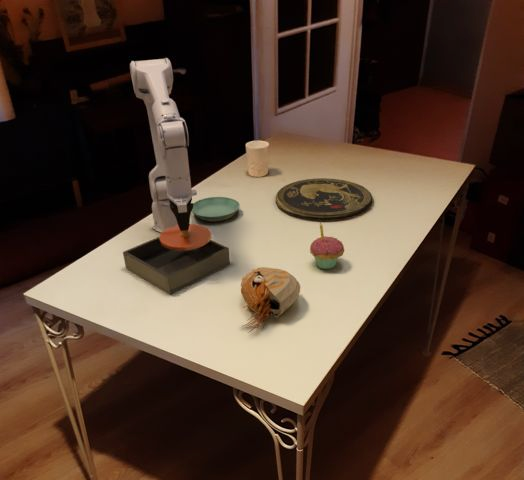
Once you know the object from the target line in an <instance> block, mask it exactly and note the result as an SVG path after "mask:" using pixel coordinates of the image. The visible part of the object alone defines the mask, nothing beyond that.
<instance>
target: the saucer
mask: <svg viewBox="0 0 524 480" xmlns="http://www.w3.org/2000/svg"><path fill="white" fill-rule="evenodd" d="M192 203H193V209H192V211H191V214H193V215H194V216H195V217H196V218H198V219H200V220H201V221H204V222H214V223H215V222H222V221H227V220H228V219H231V218H232V217H233V216H235V214H236V213H237V212H238V210H239V209H240V207H241V205H240V202H239V201H237V200H236V199H234V198H231V197H226V196H211V197H205V198H201V199H199V200H196V201H195V202H192Z"/></svg>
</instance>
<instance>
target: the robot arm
mask: <svg viewBox="0 0 524 480" xmlns="http://www.w3.org/2000/svg"><path fill="white" fill-rule="evenodd" d="M129 71H130V76H131V77H130V78H131V81H132V87H133V91H134V94H135V97H136V98H138V99H140V100H143V102H144V105H145V107H146V111H147V116H148V122H149V123H148V124H149V129H150V134H151V139H152V145H153V151H154V157H155V162H156V165H155V166H154V167H153V168H152V169H151V170H150V171H149V173H148V182H149V183H148V184H149V190H150V196H151V199H152V203H151V212H152V219H153V225H154V226H151V227H152V228H151V229H153V230H154V231H157V232H158V233H160V234H161V233H162V232H163V231H164V230H166V229H168V228H170V227H173V226H176V225H178V226H179V229H180V231H185V230H189V224H191V221H190V220H191V214H192V209H193V203H194V202H192V201H193V197H194V196H197V195H198V193H197V189H192V182H191V174H190V164H189V155H188V147H189V145H190V136H189V131H188V130H189V129H188V126H187V123H186V120H185V119H184V118H183V117H181V115H180V112H179V110H178V106H177V103H176V101H174V100H173V98H170V94H172V90H173V83H174V73H173V72H174V71H173V66H172V63H171V60H170V59H169V58H168V57H164V58H158V59H147V60H135V61H134V60H131V62H130V63H129Z"/></svg>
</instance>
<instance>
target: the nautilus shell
mask: <svg viewBox="0 0 524 480" xmlns="http://www.w3.org/2000/svg"><path fill="white" fill-rule="evenodd" d="M300 292H301V284H300V282H299V281H298V279H297V278H296V277H295V276H294V275H293V274H291V273H289V271H286V270H284V269H280V268H274V267H265V266H262V267H257V268H254V269H252V270H251V271H248V272H247V273H246V275H245V276H243V277H242V279H241V283H240V294H241V295H242V297H243V300H244V301H245V304H247V305H244V306H243V307H242V309H244V308H246V307H249V308H248V309H246V311H249V310H250V309H251V310H252V311H253V312H254V314H252V316H251V317H249V318H248V319H247V321H249V320H250V319H251V320H250V321H249V322H247V323H246V324H244V325H242V326H241V327H244V328H246V329H248V328H252V329H250V330H249V331H247V332H246V333H248V334H249V333H251V332H253V331H254V330H255V329H256V331H255V332H257V331H258V329H259V326H260V325H261V324H262V323H264V324H263V325H265V324H266V322H267V321H268V320H269V318H270V317H271V316H273V317H275V318H279V316H281V315H282V314H283V313H284V312H285V311H286V310H287V309H289V308H290V307H291V306H292V305H293V304H294V303H295V302H296V301H297V299H298V297H299V295H300ZM256 314H257V315H256ZM258 321H259V322H258ZM257 322H258V323H257ZM264 327H265V326H263V327H262V329H264Z"/></svg>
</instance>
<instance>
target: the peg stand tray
mask: <svg viewBox="0 0 524 480" xmlns="http://www.w3.org/2000/svg"><path fill="white" fill-rule="evenodd" d="M159 237H160V235H159V236H158V237H157V236H156V237H155V238H153V239H150V240H149V241H146V242H145V241H144V242H143V243H141V244H139V245H136V246H133V247H131V248H129V249H126V250H125V251H122V255H123V259H124V261H123V262H124V267H125V269H126V270H127V271H128V272H129V271H130V272H131V273H133V274H134V275H137V277H139V278H141V279H143V280H145V281H146V282H148V283H150V284H151V285H153V286H154V287H157V289H160V290H162V291H163V292H165V293H167V294H168V295H172V294H174V293H176V292H179V291H181V290H183V289H185V288H187V287H188V286H191V285H192V284H195V283H196V282H199V281H201V280H202V279H204V278H207V277H209V276H210V275H213V274H214V273H216V272H218V271H220V270H223V269H225V268H226V267H228V266H230V265H231V257H230V256H231V255H230V248H229V247H227V246H226V245H224V244H221V243H219V242H217V241H214V240H213V239H212V238H211V239H210V241H209V242H208V243H207V244H206V245H204V246H202V247H199V248H196V249H192V250H184V251H179V250H171V249H168V248H165V247H164V246H162V245H161V243H160V239H159Z"/></svg>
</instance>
